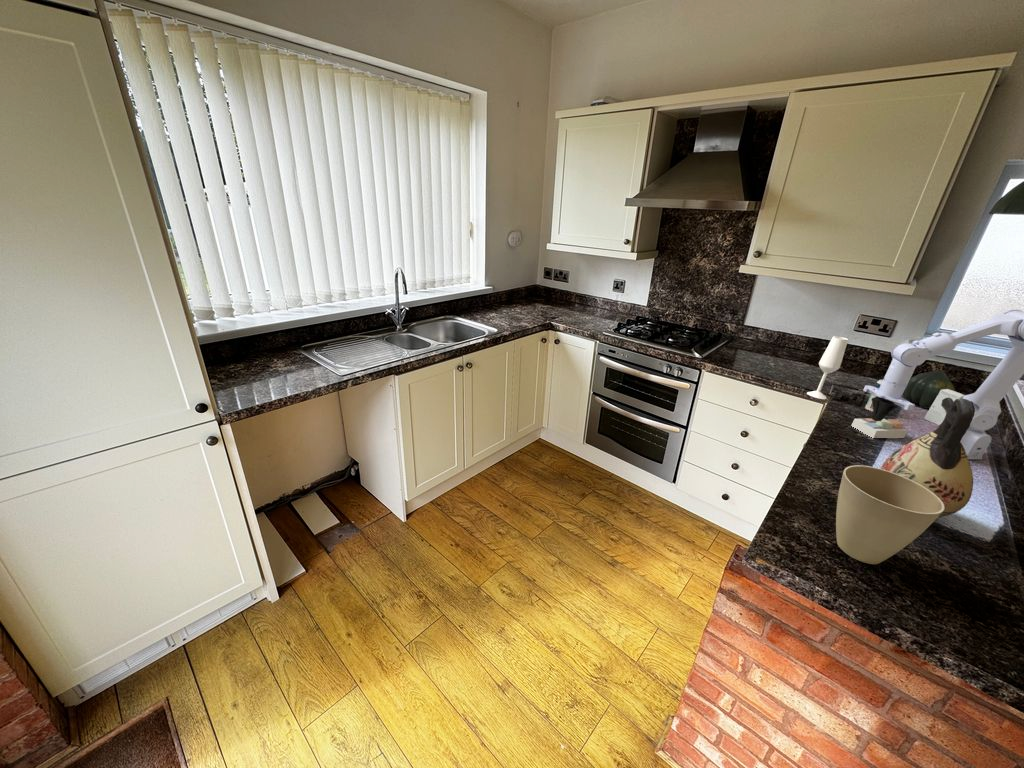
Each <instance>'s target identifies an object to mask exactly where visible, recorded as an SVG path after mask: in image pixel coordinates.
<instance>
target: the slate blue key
mask: <svg viewBox="0 0 1024 768" xmlns="http://www.w3.org/2000/svg"><path fill="white" fill-rule="evenodd" d="M865 424H866V425H868V426H870V427H872V428H874V429H882V427H881V426H879V425H877V424H875V423H865Z"/></svg>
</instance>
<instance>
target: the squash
mask: <svg viewBox="0 0 1024 768" xmlns="http://www.w3.org/2000/svg"><path fill="white" fill-rule="evenodd" d="M943 389H949V390H952V391H955V392H957V391H956V388H955V386H954V385H953V383H952V382H951V380H950V379H949V377H948V376H947V374H946V373H945V372H944V370H935V371H934V370H933V371H929V372H923V373H919V374H917V375H913V376H911V378H910V380H909V382H908V384H907V386H906V388H905V390H904V392H903V394H902V397H903V398H904V399H905V400H907V401H908V402H910V401H911V402H910V403H914V404H915V403H916V404H919V407H920V408H922V409H930V407H931V406H932V404H933V402H934V401H935V399H936V397H937V396H938V394H939V392H940V390H943Z"/></svg>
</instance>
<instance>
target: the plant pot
mask: <svg viewBox="0 0 1024 768" xmlns="http://www.w3.org/2000/svg"><path fill="white" fill-rule="evenodd" d="M837 495H838V496H837V501H836V515H835V533H836V537H835V538H836V543H837V546H838V548H840V550H842V551H843V552H844V553H845V554H846V555H848V556H849V557H851V558H852V559H855V560H857V561H859V562H862V563H865V564H868V565H879V564H880V563H882V562H885V561H886V560H888V559H890V558H891V557H893V556H894V555H896V554H897V553H899V552H901V550H903V549H904V548H906V547H907V546H908V545H910V544H912V542H914V541H915V540H916V539H917V538H918V537H919V536H920V535H922V534H923V533H924V532H925V531H926V530H927V529H928V528H929V527H930V526H931V525H932V524H933V523H935V522H936V521H937V520H938V518H939V517H938V516H939V515H940V514H941V513H942V512H943V511H944V509H945V507H944V504H943V502H942V501H941V500H940V499H939V498H938V497H937V496H936V495H935V494H934V493H933V492H931V491H930V490H928V489H927V488H925V487H923V486H922V485H920V484H918V483H916V482H914V481H912V480H910V479H908V478H906V477H903V476H901V475H898V474H895V473H893V472H890V471H887V470H883V469H880V467H879V468H878V467H874V466H869V465H859V464H858V465H856V464H855V465H854V464H853V465H850V466H847V467H845V468H844V470H843V473H842V477H841V480H840V485H839V490H838V494H837ZM936 519H937V520H936ZM935 520H936V521H935ZM934 521H935V522H934Z"/></svg>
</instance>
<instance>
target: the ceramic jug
mask: <svg viewBox="0 0 1024 768" xmlns="http://www.w3.org/2000/svg"><path fill="white" fill-rule="evenodd" d="M941 406H942V407H943V408H944V409H945V411H946V416H945V418H944V420H943V422H942V423H941V424H940V425H938V426H937V428H936V429H935V430H932V431H931V432H929V433H927V434H925V435H923V436H920V437H918V438H916V439H914V440H912V441H910V442H908V443H907V444H904V445H902V446H901V447H900V448H898V449H896V450H894V452H893V453H891V454H890V455H889V456H888V457H887V458H886V459H885V460H884V462H883V464H882V465H881V466H880V467H879V469H883V470H887V471H890V472H893V473H895V474H898V475H901V476H903V477H906V478H908V479H910V480H912V481H914V482H916V483H918V484H920V485H922V486H923V487H925V488H927V489H928V490H930V491H931V492H933V493H934V494H935V495H936V496H937V497H938V498H939V499H940V500H941V501H942V502H943V504H944V507H945V509H944V511H943V512H942V513H941V514H940V515H939V516H938V518H942V517H943V518H944V517H947V516H951V515H954V514H956V513H958V512H959V511H962V509H964V508H965V507H966V506H967V505H968V503H969V502H970V500H971V497H972V494H973V488H974V476H973V474H974V473H973V470H972V467H971V462H970V461H969V460H970V459H968V456H967V455H966V453H965V449H964V447H963V445H962V443H961V442H960V441H961V439H962V437H963V436H964V434H965V433H966V431H967V429H968V428H969V427H970V424H971V422H972V419H973V417H974V413H975V408H974V404H973V402H972V401H969V400H967V399H956V400H955V401H954V402H953V400H952V399H951V398H949V397H948V398H945V399H943V400H942V404H941ZM938 518H937V519H936V520H935V521H934V522H933V523H935V522H936V521H937V520H938Z"/></svg>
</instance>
